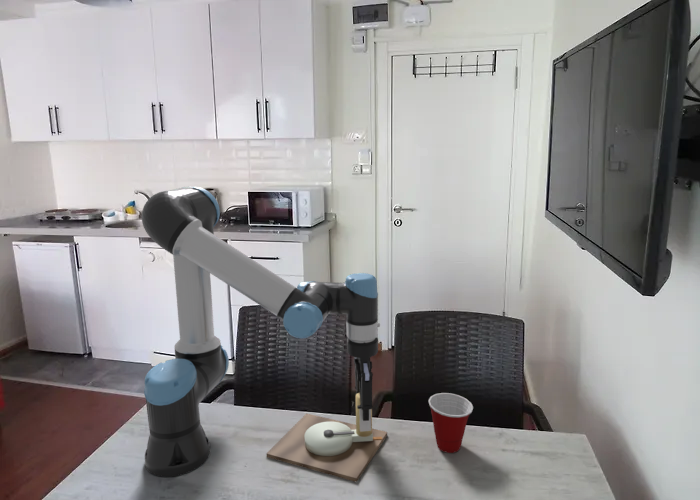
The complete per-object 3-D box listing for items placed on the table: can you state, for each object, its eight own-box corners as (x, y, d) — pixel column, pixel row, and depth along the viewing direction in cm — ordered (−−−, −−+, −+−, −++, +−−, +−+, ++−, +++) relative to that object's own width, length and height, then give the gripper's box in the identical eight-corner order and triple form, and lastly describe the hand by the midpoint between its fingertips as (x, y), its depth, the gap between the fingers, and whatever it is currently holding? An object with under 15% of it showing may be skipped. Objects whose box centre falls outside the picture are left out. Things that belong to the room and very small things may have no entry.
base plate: (266, 457, 124) (266, 452, 123) (306, 416, 141) (306, 412, 141) (356, 482, 114) (356, 477, 114) (387, 435, 132) (387, 431, 131)
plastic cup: (472, 461, 120) (474, 416, 118) (426, 457, 122) (427, 412, 120) (471, 436, 130) (472, 393, 128) (428, 432, 133) (429, 390, 130)
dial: (304, 457, 121) (302, 412, 118) (305, 429, 133) (303, 387, 130) (375, 453, 122) (374, 407, 120) (369, 425, 134) (368, 384, 131)
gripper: (384, 350, 114) (385, 443, 119) (371, 324, 131) (372, 406, 136) (351, 352, 114) (353, 446, 118) (342, 326, 130) (344, 409, 135)
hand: (363, 425), depth 127 cm, fingers closed on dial, 4 cm apart
